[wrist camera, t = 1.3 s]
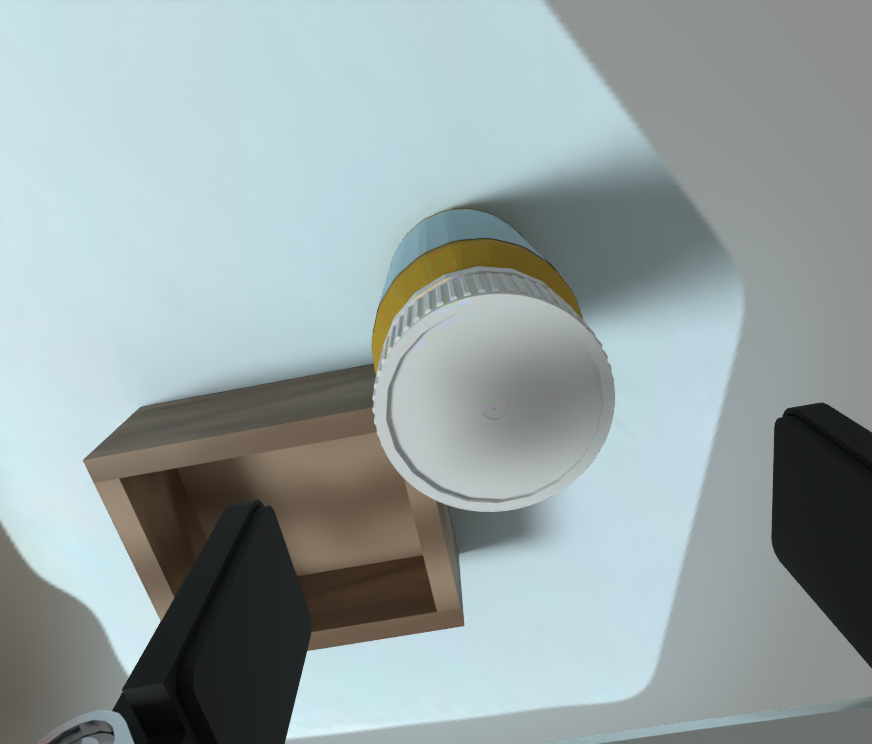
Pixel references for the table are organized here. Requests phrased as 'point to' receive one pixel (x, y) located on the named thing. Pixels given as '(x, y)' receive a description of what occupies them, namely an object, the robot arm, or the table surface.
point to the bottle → (485, 368)
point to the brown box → (286, 502)
